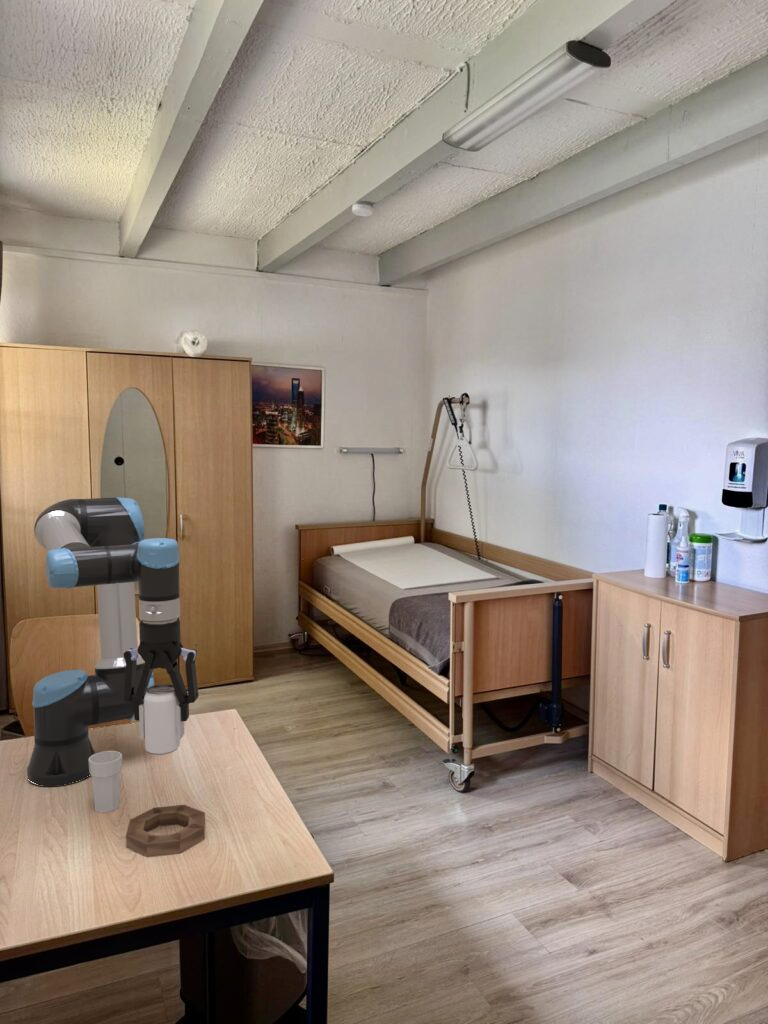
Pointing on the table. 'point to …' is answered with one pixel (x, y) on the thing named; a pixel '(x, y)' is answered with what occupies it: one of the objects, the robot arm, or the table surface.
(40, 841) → the table surface
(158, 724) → the can
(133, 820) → the brown octagonal frame
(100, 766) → the cup
